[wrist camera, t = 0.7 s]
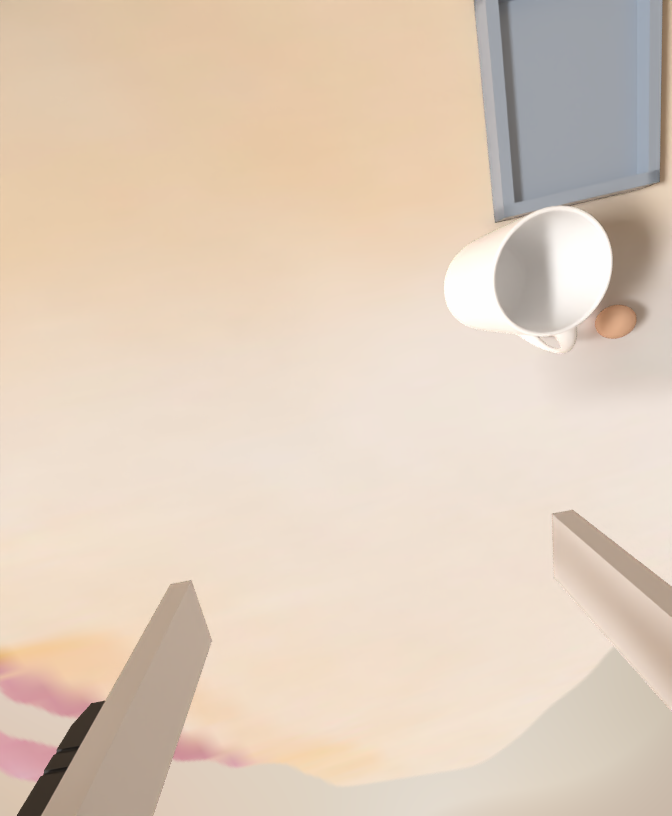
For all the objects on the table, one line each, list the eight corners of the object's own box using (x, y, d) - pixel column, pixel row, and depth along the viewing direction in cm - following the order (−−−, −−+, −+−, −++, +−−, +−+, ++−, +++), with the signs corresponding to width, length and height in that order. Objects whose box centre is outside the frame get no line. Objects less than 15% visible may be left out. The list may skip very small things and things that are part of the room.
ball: (586, 309, 36) (611, 308, 33) (618, 302, 36) (645, 300, 33) (587, 340, 37) (612, 343, 34) (618, 333, 37) (645, 335, 34)
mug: (488, 373, 38) (551, 395, 27) (424, 276, 35) (468, 261, 25) (559, 321, 37) (654, 324, 26) (499, 217, 34) (578, 175, 23)
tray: (473, -1, 29) (483, -21, 28) (642, -42, 29) (663, -64, 27) (495, 222, 34) (504, 217, 32) (642, 188, 34) (659, 181, 32)
